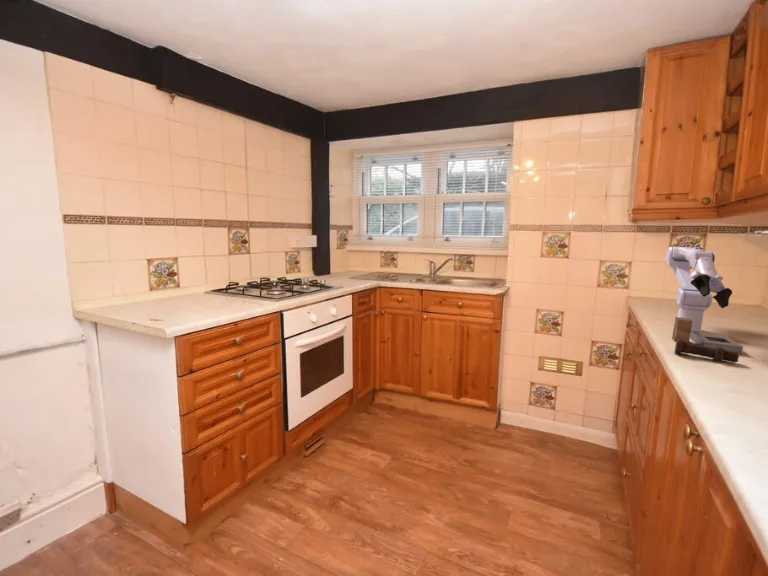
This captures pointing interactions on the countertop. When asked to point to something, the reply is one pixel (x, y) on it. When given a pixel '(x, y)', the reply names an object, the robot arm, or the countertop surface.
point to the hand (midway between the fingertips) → (715, 300)
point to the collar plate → (715, 341)
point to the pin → (682, 329)
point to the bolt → (705, 351)
